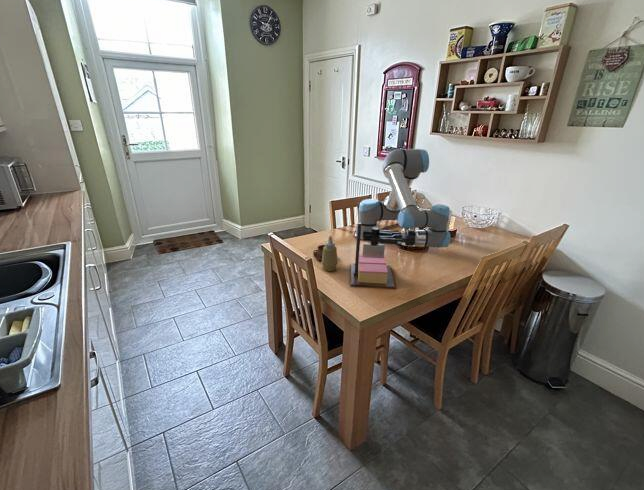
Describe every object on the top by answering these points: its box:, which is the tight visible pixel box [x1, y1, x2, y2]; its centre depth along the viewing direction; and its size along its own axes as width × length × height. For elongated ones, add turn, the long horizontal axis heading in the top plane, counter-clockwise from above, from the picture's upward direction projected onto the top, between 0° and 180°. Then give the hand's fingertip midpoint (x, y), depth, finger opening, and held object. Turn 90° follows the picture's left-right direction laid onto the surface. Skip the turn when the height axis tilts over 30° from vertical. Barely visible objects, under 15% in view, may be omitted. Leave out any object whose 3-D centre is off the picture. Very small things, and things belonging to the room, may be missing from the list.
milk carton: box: [446, 209, 453, 232], centre depth 203 cm, size 7×7×19 cm
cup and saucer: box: [312, 244, 325, 261], centre depth 177 cm, size 12×12×6 cm
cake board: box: [350, 222, 396, 290], centre depth 155 cm, size 22×20×27 cm
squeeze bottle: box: [321, 235, 338, 272], centre depth 163 cm, size 8×8×18 cm
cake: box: [358, 254, 388, 284], centre depth 159 cm, size 17×13×6 cm
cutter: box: [362, 226, 386, 258], centre depth 153 cm, size 4×10×15 cm, turn 85°
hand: (363, 235), depth 152 cm, fingers closed on cutter, 4 cm apart
